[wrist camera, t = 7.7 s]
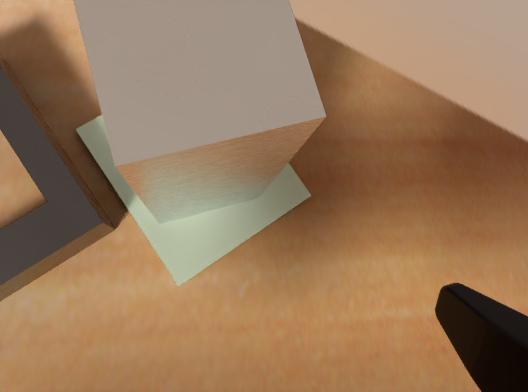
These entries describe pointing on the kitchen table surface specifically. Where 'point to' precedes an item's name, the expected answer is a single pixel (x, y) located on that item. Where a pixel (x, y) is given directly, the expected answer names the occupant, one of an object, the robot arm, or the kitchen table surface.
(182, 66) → the grey tall rectangular block
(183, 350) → the kitchen table surface
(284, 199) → the green mat
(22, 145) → the dark grey flat frame
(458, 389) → the kitchen table surface
